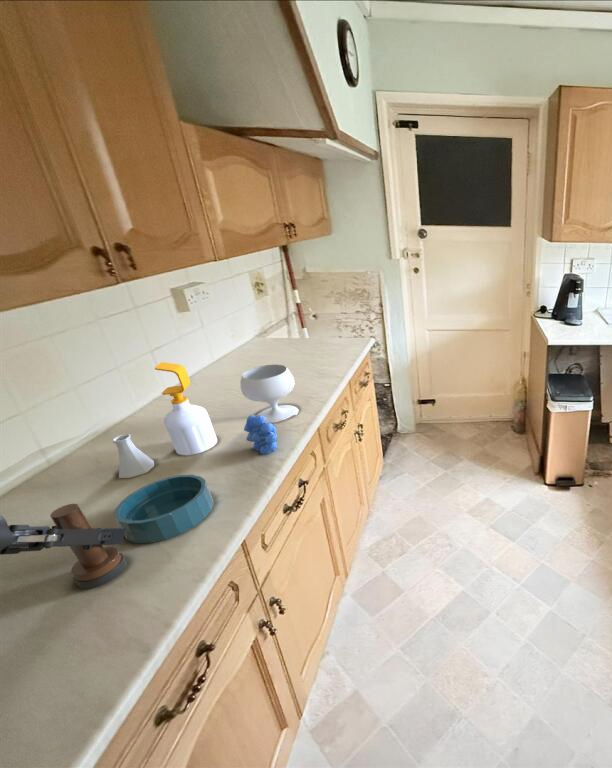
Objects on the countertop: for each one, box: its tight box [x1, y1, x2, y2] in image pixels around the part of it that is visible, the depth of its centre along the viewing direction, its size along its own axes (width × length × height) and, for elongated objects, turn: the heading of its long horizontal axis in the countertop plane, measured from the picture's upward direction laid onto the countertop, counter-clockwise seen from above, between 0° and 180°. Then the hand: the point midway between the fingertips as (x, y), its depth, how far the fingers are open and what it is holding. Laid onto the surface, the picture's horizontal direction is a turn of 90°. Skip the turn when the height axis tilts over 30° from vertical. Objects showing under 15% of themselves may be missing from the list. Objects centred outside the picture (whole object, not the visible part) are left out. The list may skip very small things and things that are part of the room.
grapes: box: [243, 414, 278, 455], centre depth 104 cm, size 12×7×12 cm, turn 63°
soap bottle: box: [154, 361, 218, 456], centre depth 102 cm, size 9×9×25 cm
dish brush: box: [49, 503, 128, 590], centre depth 68 cm, size 6×6×15 cm
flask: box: [112, 433, 155, 479], centre depth 96 cm, size 7×7×10 cm
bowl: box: [113, 474, 215, 544], centre depth 83 cm, size 15×15×6 cm
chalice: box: [240, 364, 300, 423], centre depth 120 cm, size 14×14×15 cm
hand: (109, 536), depth 72 cm, fingers closed on dish brush, 3 cm apart
